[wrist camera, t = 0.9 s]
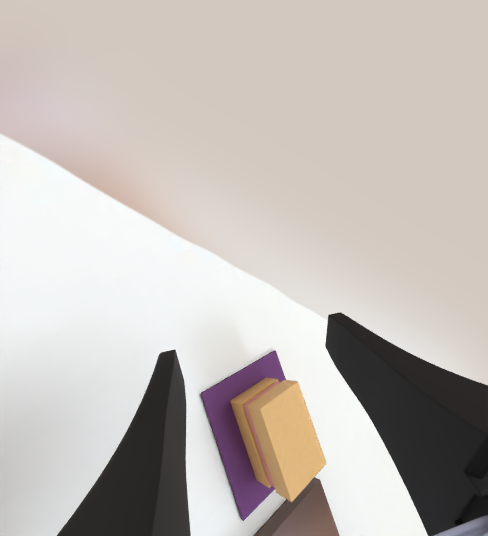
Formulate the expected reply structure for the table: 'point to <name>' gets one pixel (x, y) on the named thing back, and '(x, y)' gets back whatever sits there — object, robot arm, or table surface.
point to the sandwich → (279, 436)
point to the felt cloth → (229, 433)
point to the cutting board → (303, 515)
